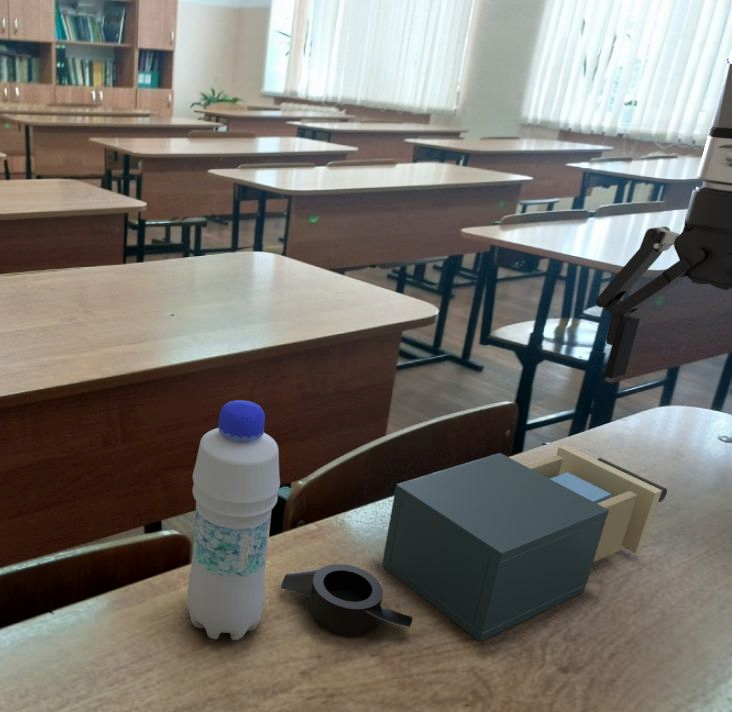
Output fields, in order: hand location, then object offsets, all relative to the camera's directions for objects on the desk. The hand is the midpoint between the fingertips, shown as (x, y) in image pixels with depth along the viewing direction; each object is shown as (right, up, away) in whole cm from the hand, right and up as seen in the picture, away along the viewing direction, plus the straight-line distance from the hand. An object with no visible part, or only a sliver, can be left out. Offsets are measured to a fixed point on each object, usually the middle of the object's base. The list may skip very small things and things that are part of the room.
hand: (680, 398), depth 75 cm
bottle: (-48, -18, -14) cm, 53 cm away
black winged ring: (-37, -18, -12) cm, 43 cm away
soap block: (-13, -13, -2) cm, 18 cm away
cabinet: (-23, -16, -7) cm, 29 cm away
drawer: (-12, -14, -1) cm, 18 cm away
